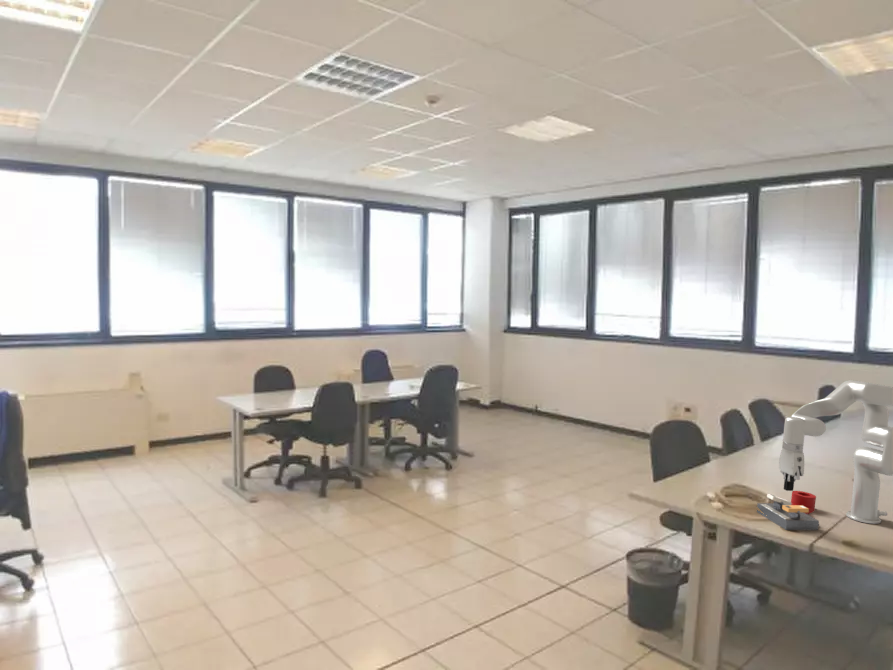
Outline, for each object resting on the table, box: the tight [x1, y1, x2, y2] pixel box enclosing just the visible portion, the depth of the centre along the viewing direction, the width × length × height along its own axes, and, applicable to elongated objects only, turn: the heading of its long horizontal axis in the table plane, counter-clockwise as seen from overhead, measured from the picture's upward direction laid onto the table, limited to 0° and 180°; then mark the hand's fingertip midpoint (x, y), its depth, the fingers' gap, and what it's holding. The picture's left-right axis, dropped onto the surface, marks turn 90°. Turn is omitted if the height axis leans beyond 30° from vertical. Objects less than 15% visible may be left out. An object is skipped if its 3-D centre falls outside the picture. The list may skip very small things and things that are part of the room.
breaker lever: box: [782, 505, 809, 513], centre depth 253 cm, size 9×5×2 cm, turn 95°
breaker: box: [766, 493, 791, 505], centre depth 264 cm, size 9×5×2 cm, turn 96°
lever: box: [790, 490, 817, 515], centre depth 271 cm, size 18×9×7 cm, turn 143°
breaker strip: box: [756, 500, 820, 531], centre depth 258 cm, size 14×20×6 cm
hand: (788, 490), depth 252 cm, fingers closed
